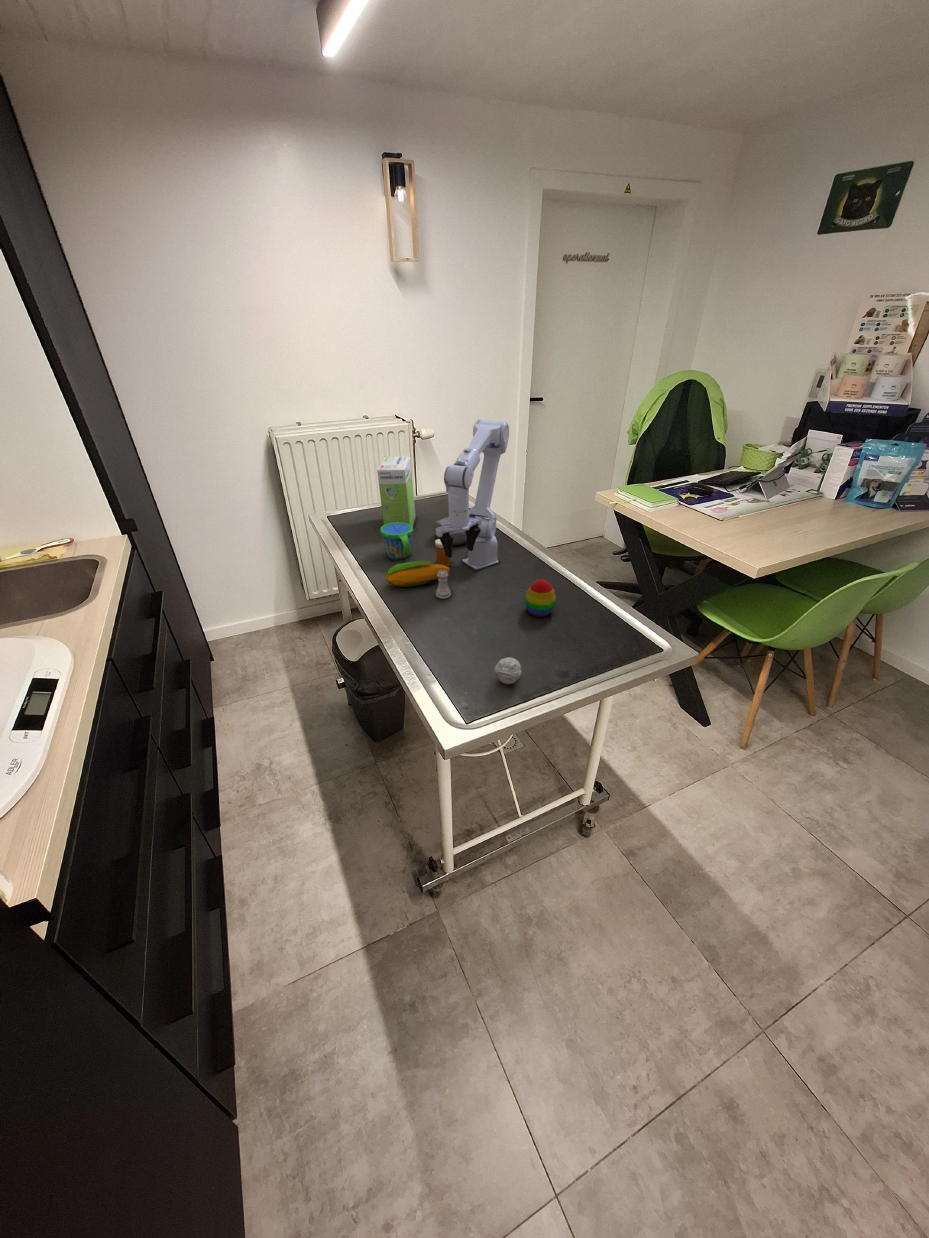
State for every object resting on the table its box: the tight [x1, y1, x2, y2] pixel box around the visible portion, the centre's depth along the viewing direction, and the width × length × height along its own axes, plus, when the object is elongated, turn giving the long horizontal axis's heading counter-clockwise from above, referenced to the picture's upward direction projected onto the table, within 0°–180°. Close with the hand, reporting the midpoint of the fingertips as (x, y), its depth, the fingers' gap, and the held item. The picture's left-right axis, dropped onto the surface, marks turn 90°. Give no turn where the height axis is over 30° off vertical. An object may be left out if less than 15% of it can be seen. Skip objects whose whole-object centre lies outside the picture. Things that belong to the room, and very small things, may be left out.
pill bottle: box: [434, 538, 451, 567], centre depth 158 cm, size 5×5×8 cm
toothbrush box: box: [376, 456, 417, 529], centre depth 180 cm, size 18×10×24 cm, turn 179°
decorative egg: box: [524, 578, 556, 618], centre depth 132 cm, size 8×8×10 cm
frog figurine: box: [494, 657, 522, 685], centre depth 109 cm, size 6×7×7 cm
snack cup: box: [379, 522, 414, 561], centre depth 162 cm, size 16×10×10 cm
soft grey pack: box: [433, 516, 487, 546], centre depth 176 cm, size 15×8×20 cm
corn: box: [384, 560, 451, 588], centre depth 147 cm, size 7×8×20 cm
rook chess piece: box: [435, 570, 452, 600], centre depth 141 cm, size 4×4×8 cm
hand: (459, 553), depth 143 cm, fingers open, 7 cm apart
